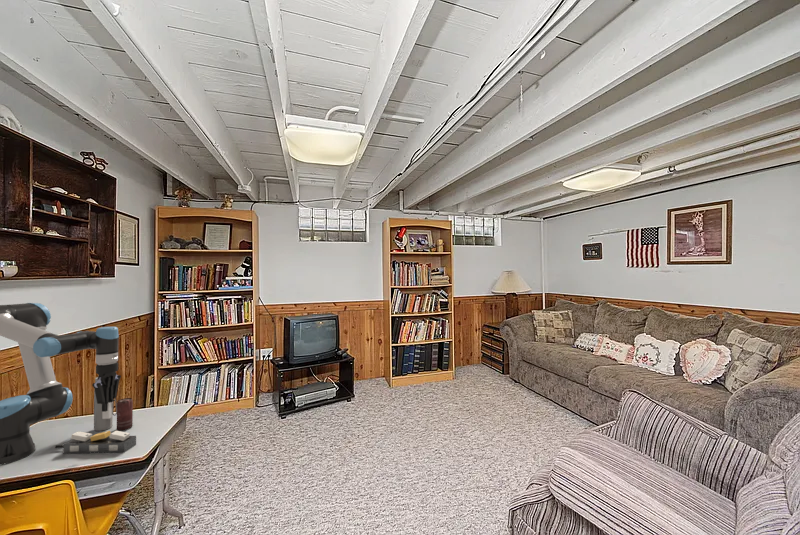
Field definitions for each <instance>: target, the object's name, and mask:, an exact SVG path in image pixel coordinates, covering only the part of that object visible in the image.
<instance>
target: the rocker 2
mask: <svg viewBox="0 0 800 535" xmlns="http://www.w3.org/2000/svg"><path fill="white" fill-rule="evenodd" d="M130 434H131V433H130V432H126V431H118V430H115V431H113V432H111V434H110V438H112V439H117V440H122V441H124V440H125V439H127V438H129V436H131V435H130Z"/></svg>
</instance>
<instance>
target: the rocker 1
mask: <svg viewBox="0 0 800 535" xmlns="http://www.w3.org/2000/svg"><path fill="white" fill-rule="evenodd" d="M92 436H93V433H91V432H90V433H89V432H84V431H76V432H74V433H72V434H71V437H70V440H73V439H75V440H80V441H87V440H89V439H90V437H92Z"/></svg>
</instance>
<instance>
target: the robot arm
mask: <svg viewBox="0 0 800 535" xmlns="http://www.w3.org/2000/svg"><path fill="white" fill-rule="evenodd" d="M51 315H52V314H51V312H50V309H49V308H48V307H47V306H46V305H44V304H42V303H38V302H27V303H15V304H14V303H13V304H0V337H3V338H5V339H8V340H10V341H13V342H16V343H17V345H18V347H19V348H18V349H19V351H20V352H19V353H20V356H21V359H22V362H23V366H24V371H25V374H26V378H27V383H28V385H29V386H28V387H29V390H28V391H27V393H26V394H20V395H15V396H10V397H8V398H4V399H1V400H0V464H2V465H5V464H4V463H6V464H9V463H13V461H14V462H16V461H19V460H22V459H25V458H26V457H29V456H30V455H32V454H33V453H35V451H36V444H35V443H34V440H33V437H32V436H31V433H30V432H31V431H30V425H33V424H37V423H39V422H42V421H45V420H48V419H51V418H55V417H58V416H60V415H62V414H64V413H66V412H67V411H68V410H69V409H70V407H71V406H72V404H73V393H72V391H71V389H70V388H69V387H64V386H63V383H62V382H60V381H59V382H58V380H56V378H57V377H56V375H55V371H54V367H53V364H52V360H51V357H53V356H59V355H62V354H63V355H64V354H67V353H73V352H78V351H84V350H95V364H96V365H95V373H96V374H97V377H98V378H97V377H96V378H97V380H98V381H97V382H96V383H95V382H93V383H91V384H92V387H93V389H94V390H95V394H96V399H97V404H102V419H109V418H111V417H112V402H115V398H116V399H117V395H118V391H119V390H118V389H119V385H120V384H119V383H120V380H121V377H122V375H120V374H117V372H118V371H119V362H118V361H119V337H120V335H119V328H118V327H117V326H102V327H98V328H96V331H91V330H83V331H82V330H81V331H77V332H75V333H68V334H62V335H61V334H60V335H58V334H56V333H53V332H49V331H47V328H48V327H47V326H48V325H49V324H50V322H51V319H52V316H51ZM94 390H93V391H94ZM113 395H114V396H113ZM113 399H114V400H113Z"/></svg>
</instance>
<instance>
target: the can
mask: <svg viewBox="0 0 800 535" xmlns="http://www.w3.org/2000/svg"><path fill="white" fill-rule="evenodd" d="M116 404H117V414H116V431H121V432H125V431H127V430H130V429H132V428H133V418H134V417H133V416H134V415H133V413H134V412H133V407H134V406H133V404H134V403H133V398H132V397H125V398H122V399H118V400H117V401H116Z"/></svg>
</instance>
